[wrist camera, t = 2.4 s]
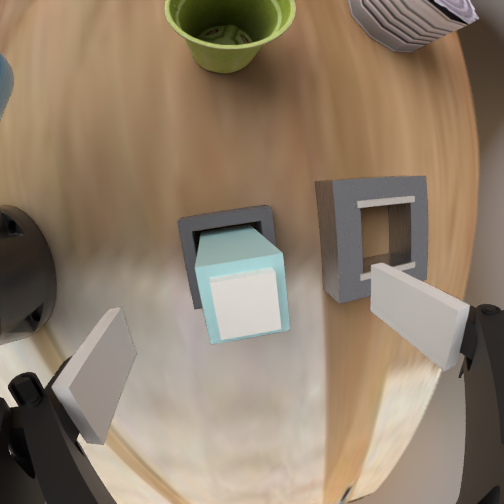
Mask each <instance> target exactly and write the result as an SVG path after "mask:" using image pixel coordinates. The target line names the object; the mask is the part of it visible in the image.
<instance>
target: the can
mask: <svg viewBox="0 0 504 504" xmlns="http://www.w3.org/2000/svg"><path fill="white" fill-rule="evenodd" d="M348 3H349V8H350V12H351V16H352V17H353V19H354V20H355V21H356V22H357V23H358V24H359V25H360V27H361V28H362V29H363V30H364V31H365V33H366V34H367V35H368V36H369V37H370V38H371V39H373V40H375V41H377V42H378V43H380V44H382V45H383V46H385V47H386V48H388V49H390V50H391V51H393V52H410V53H411V52H413V51H415V50H417V49H419V48H421V47H423V46H425V45H427V44H429V43H431V42H433V41H435V40H437V39H439V38H441V37H443V36H445V35H447V34H449V33H451V32H453V31H456V30H458V29H460V28H462V27H464V26H467V25H468V24H471V23H472V22H474V21H476V20H477V19H479V17H478V16H477V13H476V11H475V9H474V7H473V5H472V3H471V1H470V0H348Z"/></svg>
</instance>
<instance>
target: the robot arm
mask: <svg viewBox="0 0 504 504" xmlns="http://www.w3.org/2000/svg"><path fill="white" fill-rule="evenodd" d="M13 86H14V75H13V71H12V68H11V66H10V64H9V63H8V61H7V60H6V58H5V57H4V56H3V55H2V54H1V53H0V120H1V118H2V115H3V113H4V110H5V108H6V105H7V103H8V101H9V98H10V96H11V93H12V90H13ZM55 298H56V276H55V269H54V265H53V260H52V257H51V254H50V251H49V248H48V245H47V243H46V241H45V239H44V237H43V235H42V233H41V232H40V230H39V228H38V227H37V225H36V224H35V223H34V222H33V220H32V219H31V218H30V217H29V216H28V215H27V214H25V213H24V212H23V211H21V210H20V209H18V208H16V207H13V206H8V205H2V206H0V345H2V344H6V343H10V342H13V341H17V340H20V339H24V338H27V337H29V336H31V335H33V334H34V333H35V332H37V331H38V330H39V329H40V328H41V327H42V326H43V325H44V324H45V323H46V322H47V320H48V319H49V317H50V315H51V313H52V311H53V308H54V304H55ZM370 311H371V312H372V313H374V314H375V315H376V316H377V317H379V318H380V319H381V320H382V321H384V322H385V323H386V324H387V325H389V326H390V327H391V328H392V329H394V330H395V331H396V332H397V333H399V334H400V335H401V336H402V337H403V338H405V339H406V340H407V341H408V342H410V343H411V344H412V345H413V346H414V347H416V348H417V349H418V350H419V351H421V352H422V353H423V354H424V355H425V356H427V357H428V358H429V359H430V360H431V361H433V362H434V363H435V364H436V365H437V366H439V367H440V368H441V369H442V370H443V371H446V370H448V369H449V368H451V367H453V366H455V365H456V364H457V361H458V357H459V353H462V354H463V355H465V357H464V361H463V364H462V368H461V371H460V374H459V378H461V376H462V374H463V373H464V381H465V399H466V437H465V455H464V467H463V475H462V482H461V489H460V494H459V498H458V501H457V503H456V504H504V310H503V311H502V310H501V309H500V308H499V307H496V306H494V305H490V304H482V305H479V306H478V307H477V308H475V307H473V306H471V305H469V304H467V303H465V302H463V301H461V300H459V299H457V298H456V297H454V296H451V295H450V294H448V293H446V292H443V291H441V290H439V289H437V288H435V287H433V286H431V285H429V284H427V283H425V282H422V281H420V280H418V279H416V278H414V277H412V276H410V275H408V274H406V273H404V272H402V271H400V270H397V269H395V268H393V267H391V266H389V265H387V264H385V263H378V264H373V265H371V309H370ZM136 355H137V352H136V349H135V346H134V343H133V340H132V337H131V334H130V331H129V328H128V325H127V322H126V319H125V316H124V312H123V309H122V307H118V308H110V309H108V310H107V312H106V313H105V314H104V315H103V317H102V318H101V319H100V321H99V322H98V323H97V324H96V326H95V327H94V328H93V330H92V331H91V332H90V334H89V335H88V336H87V337H86V339H85V340H84V341H83V343H82V344H81V346H80V347H79V348H78V350H77V351H76V352H75V354H74V355H73V356H71V357H70V358H68V359H67V360H66V361H64V362H63V364H62V365H61V366H60V368H59V370H57V372H56V373H55V376H53V377H52V379H51V380H50V382H49V383H48V385H47V386H46V387H45V389H44V388H43V386H42V384H41V383H40V381H39V379H38V377H37V375H36V374H35V373H32V372H26V373H23V374H20V375H18V376H16V377H15V378H14V379H12V380H11V382H10V383H9V385H8V389H9V391H10V393H11V394H12V396H13V398H14V399H15V401H16V403H17V404H18V406H19V407H11V408H10V407H9V406H8V404H7V403H6V401H5V400H4V398H1V397H0V504H46V503H47V504H117V503H116V502H115V500H114V499H113V497H112V496H111V495H110V493H109V492H108V490H107V489H106V487H105V486H104V484H103V483H102V481H101V479H100V478H99V476H98V475H97V473H96V471H95V470H94V468H93V466H92V465H91V463H90V461H89V459H88V458H87V456H86V454H85V452H84V450H83V449H82V447H81V445H80V444H79V442H78V441H77V437H78V435H79V433H80V434H81V435H82V437H83V438H84V440H85V441H86V442H87V443H91V444H102V445H104V442H105V439H106V436H107V433H108V430H109V427H110V424H111V421H112V419H113V416H114V413H115V410H116V407H117V404H118V402H119V399H120V396H121V393H122V391H123V388H124V385H125V383H126V380H127V377H128V375H129V372H130V370H131V367H132V365H133V362H134V360H135V357H136ZM9 450H10V452H11V455H10V452H9ZM45 501H46V503H45Z"/></svg>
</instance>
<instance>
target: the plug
mask: <svg viewBox="0 0 504 504" xmlns="http://www.w3.org/2000/svg"><path fill="white" fill-rule="evenodd" d="M195 272H196V277H197V282H198V287H199V292H200V297H201V302H202V307H203V311H204V316H205V320H206V325H207V329H208V334H209V338H210V343H211V344H217V343H223V342H230V341H235V340H241V339H247V338H252V337H258V336H263V335H268V334H273V333H278V332H283V331H287V330H290V323H289V312H288V301H287V290H286V279H285V269H284V259H283V253H282V252H281V251H280V250H279V249H278V248H276V247H275V246H274V245H273V244H272V243H271V242H269V241H268V240H267V239H266V238H265V237H264V236H263V235H261V234H260V233H259V232H258V231H257V230H256V229H254V228H253V227H252V226H251V225H243V226H236V227H230V228H223V229H217V230H211V231H205V232H201V236H200V241H199V246H198V252H197V257H196V263H195Z"/></svg>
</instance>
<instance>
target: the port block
mask: <svg viewBox="0 0 504 504" xmlns="http://www.w3.org/2000/svg"><path fill="white" fill-rule="evenodd" d="M315 187H316V197H317V206H318V217H319V228H320V241H321V255H322V271H323V289H324V290H325V291H326V292H327V293H328V294H329V295H330V296H331V297H333V298H334V299H335V300H336V301H337V302H338V303H339V304H341V303H345V302H349V301H353V300H357V299H361V298H365V297H368V296H371V265H373V264H378V263H385V264H387V265H389V266H391V267H393V268H395V269H397V270H400V271H402V272H404V273H406V274H408V275H410V276H412V277H414V278H416V279H418V280H420V281H424V280H426V278H427V261H428V201H427V184H426V176H389V177H369V178H353V179H340V180H327V181H316V182H315ZM382 205H388V212H389V241H390V253H388V254H383V255H378V256H373V257H368V258H363V253H362V228H361V212H360V208H364V207H373V206H382Z"/></svg>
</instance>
